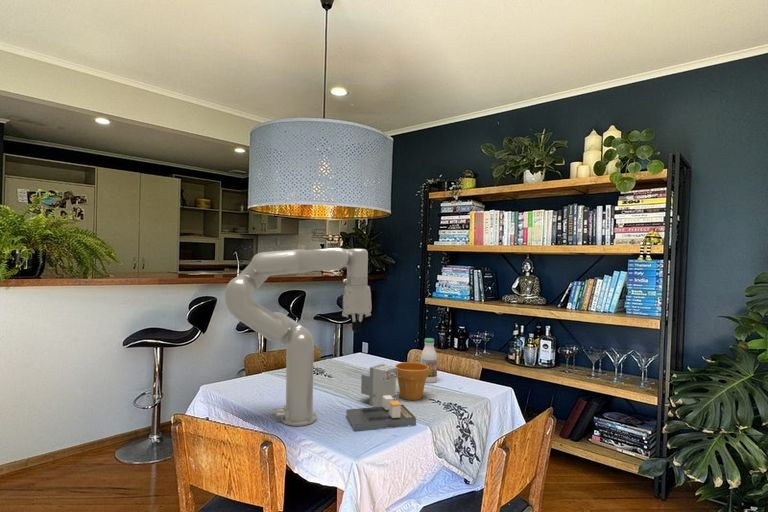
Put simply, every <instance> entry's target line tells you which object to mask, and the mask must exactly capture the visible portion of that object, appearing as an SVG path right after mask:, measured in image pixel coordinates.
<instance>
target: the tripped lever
mask: <svg viewBox="0 0 768 512" xmlns="http://www.w3.org/2000/svg"><path fill="white" fill-rule="evenodd" d="M395 400H396V399H395ZM401 405H402V403H400V401H398V399H397V400H396V401H389V415H390V416H391V417H392V418H398V417H400V414H401Z"/></svg>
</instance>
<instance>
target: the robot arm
mask: <svg viewBox="0 0 768 512" xmlns="http://www.w3.org/2000/svg"><path fill="white" fill-rule="evenodd" d="M368 266H369V253H368V249H365V248H349V249H348V248H347V249H346V248H342V247H330V248H319V249H289V250H286V249H285V250H274V251H263V252H262V251H261V252H259V253H256V254H254V256H252V259H251V261H250V262H249V264H248V265H247V266H246V267H245V268H244V269H243V270H242V271H241V272H240V273H239V274H238V275H237V276H236V277H234V278H232V279H230V281H229V282H228V284H227V285H226V288H225V291H224V301H225V306H226V308H227V310H228V311H229V313H230V314H231V315H232V317H234V318H235V319H237V320H238V321H240V322H241V323H242V324H244V325H246V326H247V327H248V328H250V329H251V330H253V331H254V332H256V333H257V334H259V335H260V336H262V337H264V339H266V340H268V341H270V342H274V343H276V342H280V343H281V344H283V346H286V349H285V350H286V351H285V353H286V358H285V359H286V360H285V361H286V364H285V365H286V367H285V371H286V372H285V379H286V380H285V404H284V406H283V407H281V409H280V408H279V409H272V416H275V417H277V418H278V417H279V418H280V421H281V423H282V424H284V425H287V426H292V427H293V426H294V427H301V426H308V425H310V424H312V423H315V422H316V421H317V420H318V415H317V413H315V412H314V409H313V408H314V361H315V360H314V356H315V341H314V337H313V334H312V332H311V331H310V330H309V329H307V328H306V327H305V326H303V325H302V324H301V323H299V322H297V321H296V320H294V319H293V318H291V317H289V316H288V315H286V314H284V312H283V313H282V312H279V311H274V312H272V311H271V310H269V309H267V308H266V307H265V306H263V305H262V304H261V303H258V302H256V301H255V300H254V299H253V298H252V295H254V293H255V292H256V291H257V290H258V289H259V288H260V287H261V285H262V284H263V283H264V282H266V280H267V279H268V278H269V277H270V276H279V275H291V274H304V273H309V272H311V273H312V272H320V271H321V272H322V271H335V270H340V269H343V268H346V278H343V279H342V283H343V284H346V285H345V286H344V290H343V295H342V297H343V298H342V314H341V316H342V317H345V318H348V319H349V320H350V321H351V330H352V332H353V333H354V334H360V331H361V329H362V321H363V320H364V319H365V318H367V317H371V316H372V313H371V312H372V308H373V307H372V292H371V286H370V285H368V273H369V272H368ZM356 315H357V318H356Z"/></svg>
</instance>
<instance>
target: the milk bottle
mask: <svg viewBox="0 0 768 512" xmlns="http://www.w3.org/2000/svg"><path fill="white" fill-rule="evenodd" d="M434 344H435V339H434V338H431V337H426V338H424V346H423V350H422V352H421V356H420V363H422V364H426V365H427V366H429V375H428V377H427V378H426V381H425V384H427V383H428V384H432V383H437V381H438V377H437V376H438V355H437V351H436V349H435V346H434Z"/></svg>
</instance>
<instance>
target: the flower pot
mask: <svg viewBox="0 0 768 512" xmlns="http://www.w3.org/2000/svg"><path fill="white" fill-rule="evenodd" d="M394 367H397V371H398V378H397V384H398V388H399V395H400V397H401V398H402V399H403V400H406V401H407V400H408V401H418V400H420V399H422V398H423V393H424V389H425V385H426V382H425V381H426V378H427V377H428V375H429V366H427V365H426V364H422V363H421V362H416V361H408V362H407V361H403V362H399V363H397V364H395V365H394ZM395 376H396V374H395Z"/></svg>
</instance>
